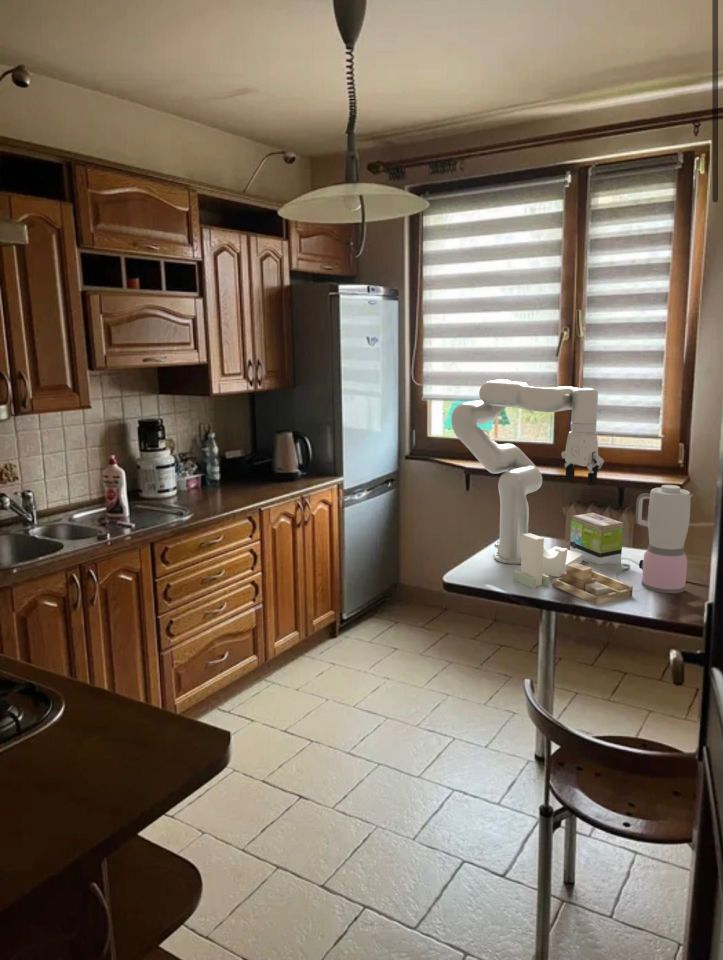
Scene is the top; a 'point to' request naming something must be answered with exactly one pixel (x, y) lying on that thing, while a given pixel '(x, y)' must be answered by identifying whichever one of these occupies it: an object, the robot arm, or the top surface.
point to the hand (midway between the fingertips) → (580, 482)
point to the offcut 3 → (596, 589)
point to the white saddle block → (559, 560)
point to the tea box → (597, 538)
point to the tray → (614, 586)
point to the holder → (529, 579)
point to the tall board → (532, 556)
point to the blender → (665, 538)
